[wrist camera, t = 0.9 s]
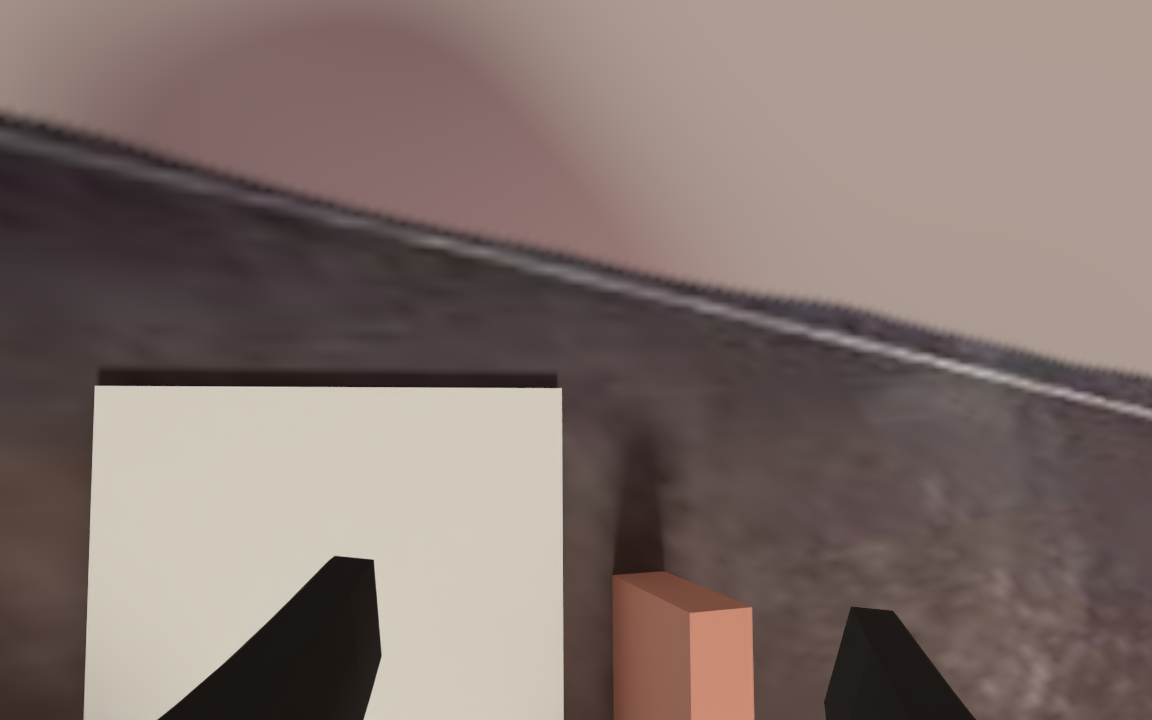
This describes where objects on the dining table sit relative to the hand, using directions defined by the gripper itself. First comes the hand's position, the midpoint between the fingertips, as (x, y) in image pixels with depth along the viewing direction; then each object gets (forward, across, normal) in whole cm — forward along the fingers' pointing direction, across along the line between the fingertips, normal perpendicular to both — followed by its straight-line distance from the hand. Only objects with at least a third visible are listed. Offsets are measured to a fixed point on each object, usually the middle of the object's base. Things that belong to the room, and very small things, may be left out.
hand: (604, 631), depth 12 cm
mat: (+9, +8, +10) cm, 16 cm away
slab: (+11, -2, +14) cm, 18 cm away
